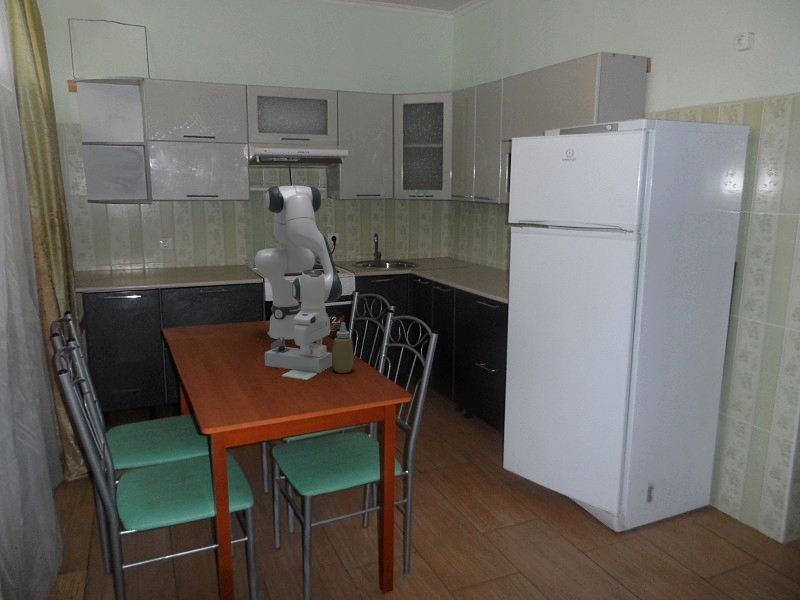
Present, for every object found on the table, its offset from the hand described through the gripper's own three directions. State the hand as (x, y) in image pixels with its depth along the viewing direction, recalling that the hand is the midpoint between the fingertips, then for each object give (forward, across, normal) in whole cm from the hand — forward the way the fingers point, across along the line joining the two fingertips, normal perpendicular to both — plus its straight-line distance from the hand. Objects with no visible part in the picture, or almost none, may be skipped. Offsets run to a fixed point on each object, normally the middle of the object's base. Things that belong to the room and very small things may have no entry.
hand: (313, 352), depth 222 cm
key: (+1, +4, -13) cm, 13 cm away
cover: (+1, 0, 0) cm, 1 cm away
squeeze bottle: (+6, -1, +12) cm, 13 cm away
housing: (+6, 0, -6) cm, 9 cm away
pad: (+6, +10, 0) cm, 12 cm away
